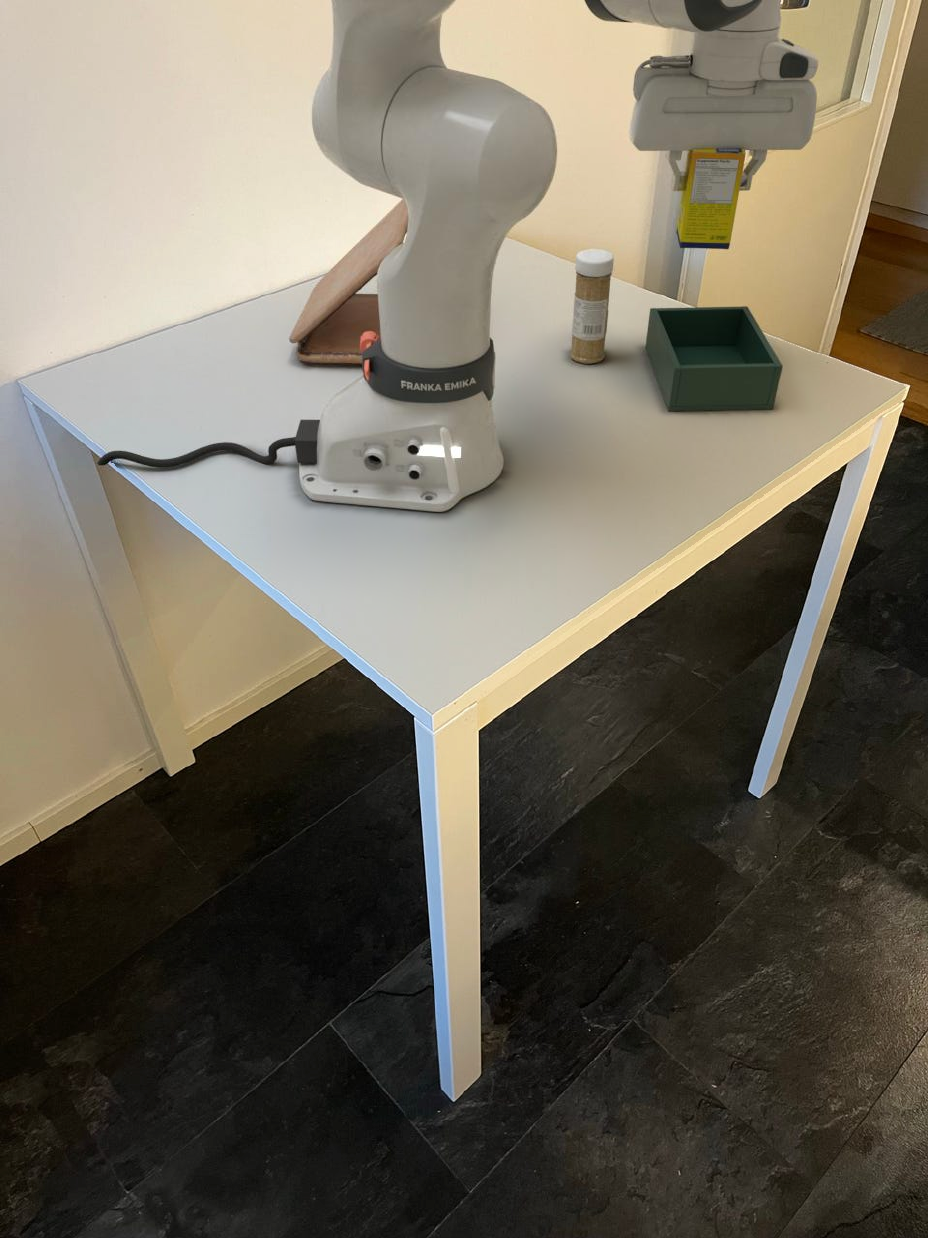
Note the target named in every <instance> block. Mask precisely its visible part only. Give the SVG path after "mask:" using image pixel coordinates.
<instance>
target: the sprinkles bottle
mask: <svg viewBox="0 0 928 1238" xmlns="http://www.w3.org/2000/svg"><path fill="white" fill-rule="evenodd" d="M574 267H575V268H574V269H575V274H576V276H575V290H574V291H575V292H574V299H573V316H572V329H571V333H572V337H571V350H570V352H569V355H570V357H571V359H572V360H574V361H576V362H577V363H581V364H589V365H590V364H596V363H600V362H601V361H603V360H604V358H605V355H606V352H605V348H606V347H605V346H606V337H607V331H608V322H609V302H610V290H611V277H612V274H613V270H614V254H612V252H610V251H609V250H606V249H602V248H601V249H600V248H599V249H598V248H588V249H584V250H581V251H579V252H577V254H576V257H575V266H574Z"/></svg>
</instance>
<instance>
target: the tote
mask: <svg viewBox="0 0 928 1238" xmlns="http://www.w3.org/2000/svg"><path fill="white" fill-rule="evenodd" d="M647 323H648V324H647V332H646V338H645V347H644V349H645V352H646V355H647V358H648V360H649V363H650V365H651V368H652V371H653V374H654V377H655V379H656V382H657V384H658V387H659V390H660V393H661V395H662V397H663V401H664V404H665V405H666V408H667V411H668V412H693V411H694V412H697V411H698V412H700V411H741V410H742V411H743V410H745V411H747V410H748V411H749V410H773V409H774V406H775V401H776V399H777V393H778V390H779V389H778V388H779V385H780V381H781V376H782V371H783V368H784V367H783V364H782V362H781V361H780V359H779V357H778V355H777V353H776V352H775V350H774V349H773V347H772V345H771V344H770V342H769V340H768V339H767V337H766V336H765V334H764V332H763V329H761V327H760V324H759V323H758V322H757V319H756V318H755V317H754V315H753V313H752V311H751V309H750V308H749V306H745V305H744V306H706V307H705V306H704V307H703V306H702V307H701V306H700V307H695V306H694V307H657V308H656V307H650V309H649V315H648V322H647Z"/></svg>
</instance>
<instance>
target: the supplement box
mask: <svg viewBox="0 0 928 1238" xmlns="http://www.w3.org/2000/svg"><path fill="white" fill-rule="evenodd" d="M745 161H746V150H744V149H693V151H687V153H686V160H685V168H684V172H686V174H687V175H688V179H687V183H686V191H681V194H680V195H681V196H680V204H679V209H678V210H679V211H678V217H677V224H676V230H675V231H676V236H677V241H678V246H679V248H680V249H706V250H707V249H708V250H709V249H710V250H711V249H712V250H729V249H730V245H731V242H732V241H731V239H732V235H733V228H734V224H735V223H734V222H735V218H736V212H737V206H738V201H739V195H740V191H739V190H740V184H741V178H742V172H743V171H744V168H745Z"/></svg>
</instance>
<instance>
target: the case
mask: <svg viewBox="0 0 928 1238" xmlns="http://www.w3.org/2000/svg"><path fill="white" fill-rule="evenodd" d="M408 220H409V212H408V207H407V204H406V202H405V199H402V198H401V200H400V201H399V202H398V203H397V204H396V205H395V206H394V207H393V208H392V209H390V211H389V212H388V213H387V214H386V215H385V216H384V217H383V218H382V219H380V220H379V221H378V222H377V223H376V225H375V226H373V227H372V228H371V229H370V230H369V231H368V232H367V233H366V234H364V236H363V237H362V238H361V239H360V240H359V241H358V242H357V243H356V244H355V245H354V246H353V247H352V248H351V249H350V250H349V251H348V252H347V253H346V254H345V255H344V256H343V257H342V258H341V259H340V260H338V261H337V263H336V264H335V265H334V266H333V267H332V268H330V269H329V271H327V272H326V273H325V274H324V276H322V277H321V279H320V280H318V282H317V284H316V285H315V286H314V288H313V289H312V291H311V293H310V295H309V297H308V299H307V302H306V303H305V305H304V308H303V310H302V311H301V314H300V315H299V317H298V319H297V321H296V323H295V325H294V326H293V329H292V330H291V333H290V335H289V338H288V340H289V342H290V343H291V344H297V348H296V349H295V357H297V359H298V360H299V361H300V362H301V361H302V362H305V363H315V364H316V363H317V364H318V363H319V364H362V354H363V353H362V352H361V350H360V339H361V336H363V333H364V332H367V331H372V332H375V333H376V335H378V336H379V339H380V338H381V334H380V320H379V306H378V293H358V292H359V291H361V290H362V289H363V288H364V287H365V286H366V285H367V284H368V283H370V282H371V280H373V279H374V278H375V277H377V273H378V269H379V267H380V264H381V262H382V261H383V260H384V258H385V257H386V256H387V255H388V254H389V253H390V252H391V251H392V250H394V249H395V248H396V247H398V246H399V245H401V244H403V243H404V242H405V238H406V234H407V229H408Z"/></svg>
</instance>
